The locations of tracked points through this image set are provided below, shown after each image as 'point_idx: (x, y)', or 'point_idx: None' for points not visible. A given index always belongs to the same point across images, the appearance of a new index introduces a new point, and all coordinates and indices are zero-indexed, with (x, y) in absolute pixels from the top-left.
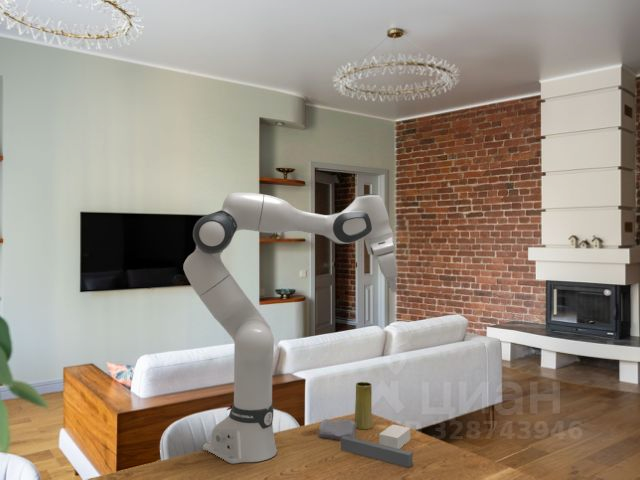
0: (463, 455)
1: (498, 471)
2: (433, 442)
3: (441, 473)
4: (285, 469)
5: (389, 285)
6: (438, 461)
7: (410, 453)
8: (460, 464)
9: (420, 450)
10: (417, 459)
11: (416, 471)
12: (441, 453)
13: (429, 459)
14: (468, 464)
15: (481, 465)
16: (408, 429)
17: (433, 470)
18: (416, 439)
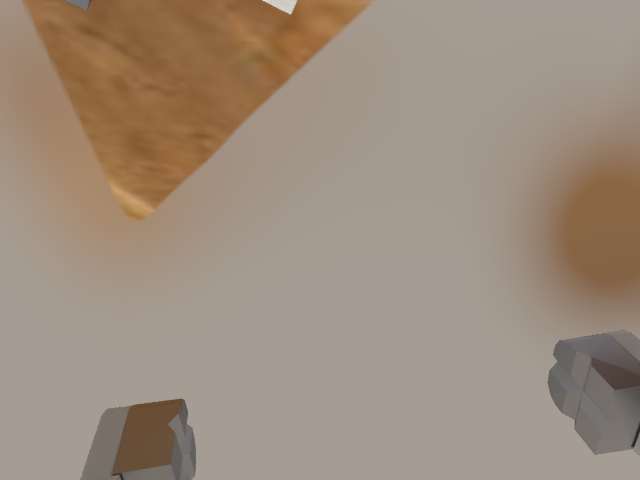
0: (201, 134)
1: (130, 193)
2: (274, 69)
3: (64, 75)
4: None
5: (580, 365)
6: (143, 73)
7: (73, 2)
8: (141, 123)
9: (208, 29)
10: (138, 16)
11: (47, 7)
12: (200, 84)
13: (149, 50)
14: (148, 140)
15: (151, 165)
16: (277, 7)
17: (75, 56)
18: (290, 22)
